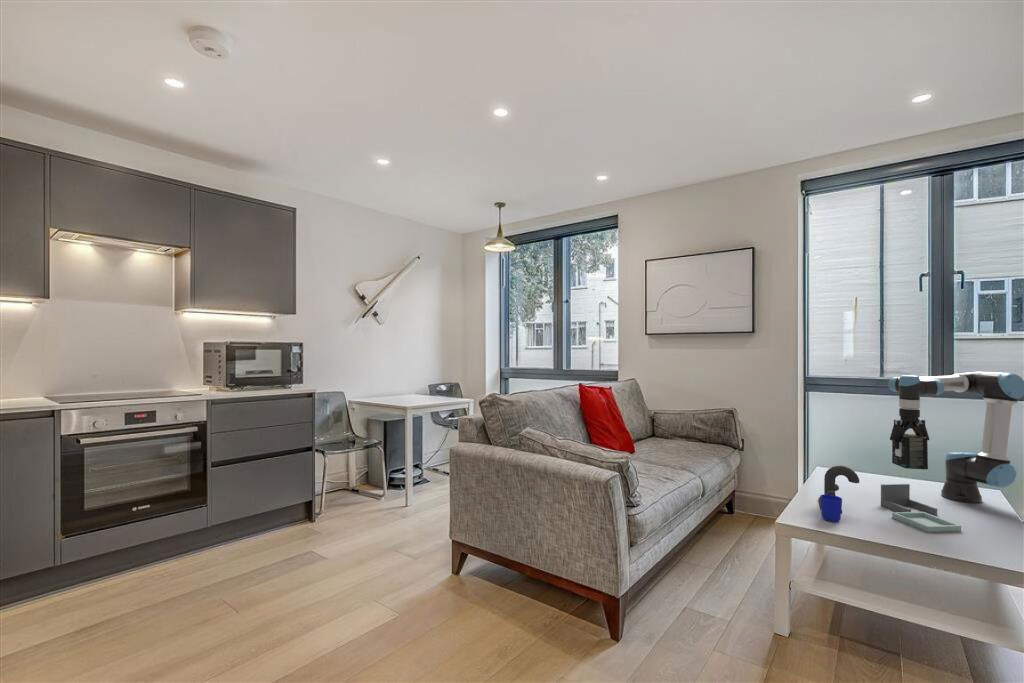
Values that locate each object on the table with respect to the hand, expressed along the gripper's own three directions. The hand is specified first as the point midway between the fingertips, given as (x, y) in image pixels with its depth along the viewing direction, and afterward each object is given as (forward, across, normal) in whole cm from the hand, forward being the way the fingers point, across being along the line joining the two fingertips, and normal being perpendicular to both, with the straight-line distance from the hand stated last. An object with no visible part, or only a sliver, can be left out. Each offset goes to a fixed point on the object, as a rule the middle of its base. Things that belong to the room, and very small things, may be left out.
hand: (909, 455), depth 227 cm
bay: (+26, 0, 0) cm, 26 cm away
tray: (+25, +9, +17) cm, 32 cm away
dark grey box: (+5, 0, 0) cm, 5 cm away
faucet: (+26, +30, -6) cm, 40 cm away
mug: (+25, +45, +7) cm, 53 cm away
